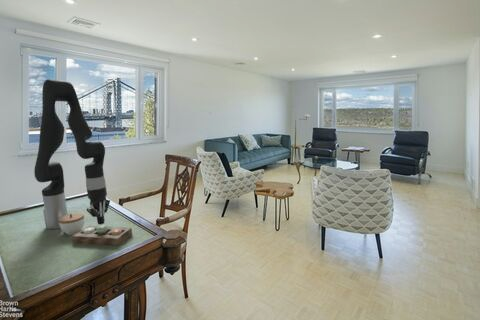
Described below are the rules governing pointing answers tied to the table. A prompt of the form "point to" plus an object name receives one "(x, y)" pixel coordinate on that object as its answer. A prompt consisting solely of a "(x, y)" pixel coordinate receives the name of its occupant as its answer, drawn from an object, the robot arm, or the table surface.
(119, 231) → the button terracotta
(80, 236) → the wooden tray
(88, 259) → the table surface
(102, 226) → the button sage
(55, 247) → the table surface
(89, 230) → the button ivory
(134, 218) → the table surface
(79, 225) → the lidded jar
